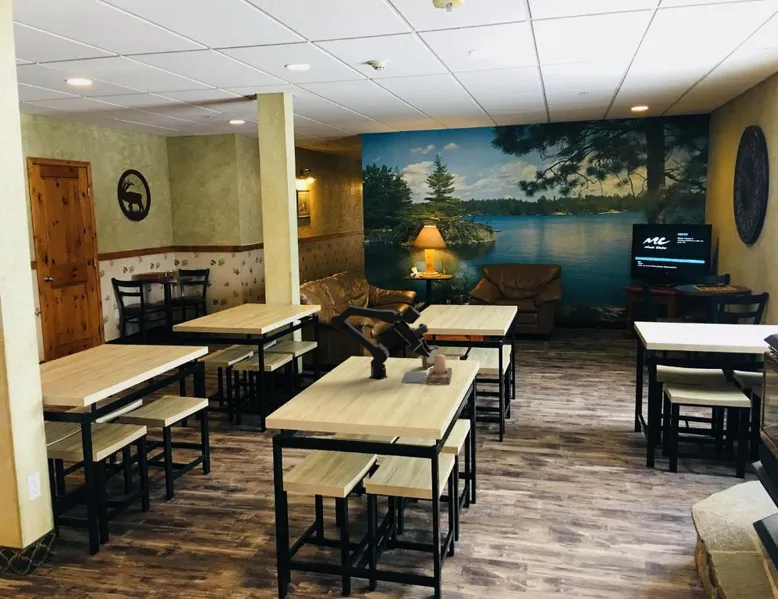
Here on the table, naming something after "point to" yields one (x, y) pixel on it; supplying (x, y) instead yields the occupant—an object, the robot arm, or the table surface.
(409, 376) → the mat
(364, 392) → the table surface
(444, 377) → the well block
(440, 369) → the pink tall rounded piece
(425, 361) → the food container
